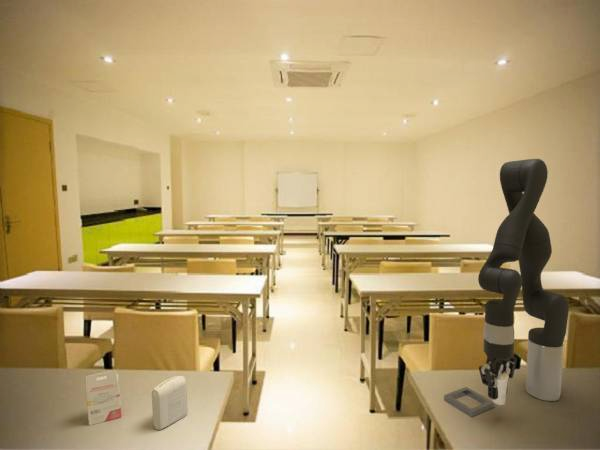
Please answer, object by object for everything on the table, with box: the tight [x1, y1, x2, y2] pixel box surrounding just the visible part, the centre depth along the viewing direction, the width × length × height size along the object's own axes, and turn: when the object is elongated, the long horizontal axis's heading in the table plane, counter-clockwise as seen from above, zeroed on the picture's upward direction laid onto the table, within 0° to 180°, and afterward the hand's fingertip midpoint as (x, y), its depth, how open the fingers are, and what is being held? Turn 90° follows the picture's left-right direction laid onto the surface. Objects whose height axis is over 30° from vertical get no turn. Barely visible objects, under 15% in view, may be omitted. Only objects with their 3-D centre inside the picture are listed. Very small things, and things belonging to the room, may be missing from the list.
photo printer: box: [151, 375, 189, 431], centre depth 109 cm, size 10×4×12 cm, turn 144°
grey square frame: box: [443, 386, 495, 418], centre depth 115 cm, size 10×10×2 cm
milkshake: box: [491, 372, 510, 406], centre depth 107 cm, size 4×5×10 cm
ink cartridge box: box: [84, 369, 122, 426], centre depth 110 cm, size 9×5×15 cm, turn 115°
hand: (497, 395), depth 107 cm, fingers closed on milkshake, 4 cm apart
